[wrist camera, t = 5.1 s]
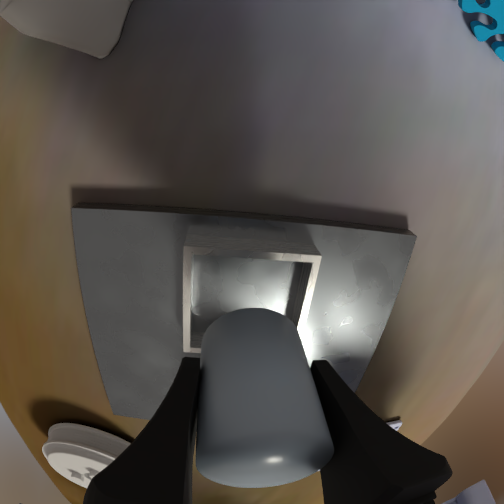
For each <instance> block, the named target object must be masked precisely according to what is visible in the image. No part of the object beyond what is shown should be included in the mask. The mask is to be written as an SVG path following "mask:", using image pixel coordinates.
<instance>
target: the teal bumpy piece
mask: <svg viewBox="0 0 504 504" xmlns="http://www.w3.org/2000/svg"><path fill="white" fill-rule="evenodd" d="M458 5H459V7H460V8H461V9H462V10H463V11H465V12H467V13H473V12H481V13H485V14H487V15H489V16H491V17H493V22H492V24H490V25H485V24H483V23H481V22H479V21H472V22H471V23H470V26H471V29H472V31H473V33H474V35H475V37H476V38H477V39H478V41H482V42H483V41H486V40H487V39H488V38H489V37H491V36H493V35H496V34H504V0H486V1H485V3H483V4H478V3H477V2H476V1H475V0H458ZM491 47H492V49H493V51H494V52H495V53H496V55H497V56H498V57H499V58H500V59H501V60H502V61H504V41H496V42H493V43H492V45H491Z"/></svg>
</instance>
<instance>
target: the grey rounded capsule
mask: <svg viewBox="0 0 504 504" xmlns="http://www.w3.org/2000/svg"><path fill="white" fill-rule="evenodd" d="M333 454H334V446H333V442H332V439H331V436H330V432H329V429H328V426H327V422H326V419H325V416H324V412H323V409H322V406H321V402H320V399H319V396H318V393H317V389H316V386H315V383H314V379H313V376H312V373H311V370H310V367H309V363H308V360H307V357H306V354H305V351H304V347H303V344H302V341H301V338H300V335H299V332H298V330H297V327H296V326H295V325H294V323H293V322H292V321H291V320H290V319H289V318H287V317H286V316H284V315H283V314H281V313H279V312H276V311H273V310H270V309H265V308H244V309H238V310H235V311H232V312H229V313H227V314H225V315H223V316H221V317H219V318H218V319H216V320H215V321H214V322H213V323H212V324H211V325H210V326H209V327H208V328H207V330H206V331H205V333H204V335H203V338H202V343H201V357H200V380H199V394H198V412H197V437H196V467H197V470H198V471H199V472H200V473H201V474H202V475H203V476H205V477H206V478H208V479H210V480H212V481H214V482H217V483H220V484H224V485H228V486H234V487H244V488H261V487H271V486H277V485H282V484H287V483H290V482H294V481H297V480H300V479H302V478H305V477H307V476H309V475H311V474H313V473H315V472H317V471H318V470H320V469H321V468H323V467H324V466H325V465H326V464H327V463H328V462H329V461H330V460H331V458H332V456H333Z"/></svg>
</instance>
